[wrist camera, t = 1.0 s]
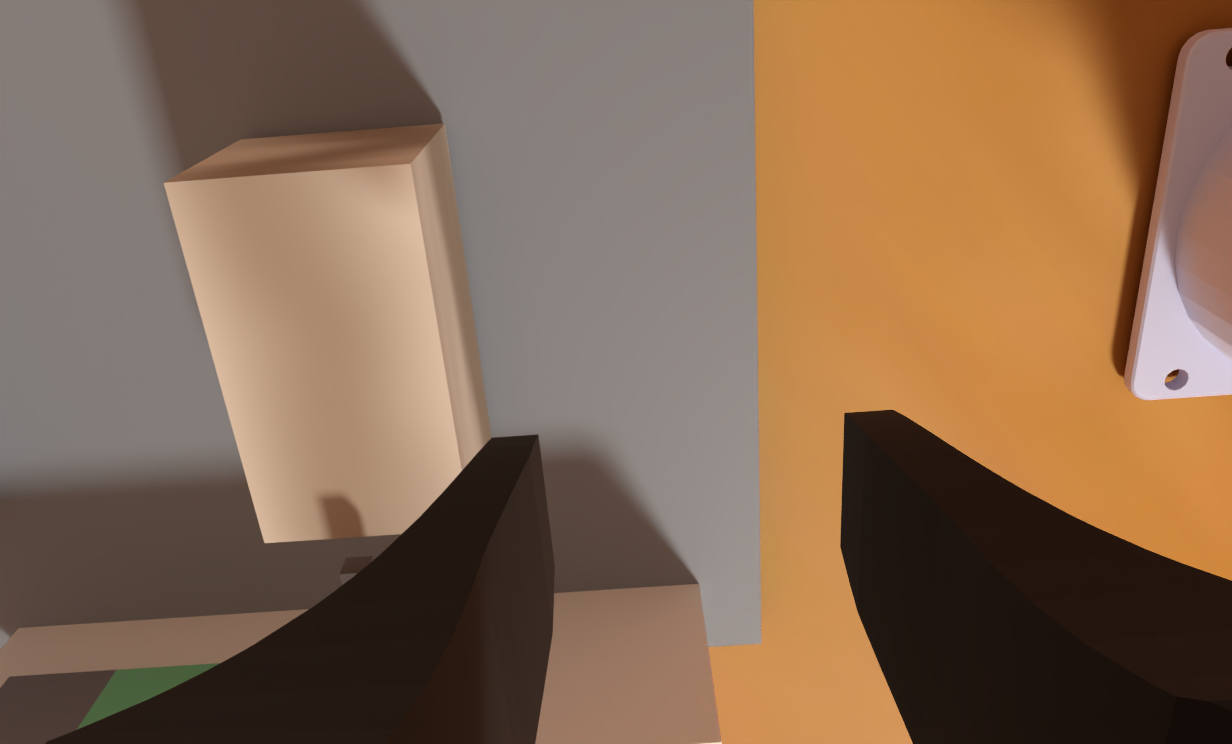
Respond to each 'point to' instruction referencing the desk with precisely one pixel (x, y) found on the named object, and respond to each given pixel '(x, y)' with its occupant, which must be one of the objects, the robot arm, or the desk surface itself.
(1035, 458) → the desk surface
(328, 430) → the block
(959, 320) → the desk surface
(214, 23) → the gauge board
